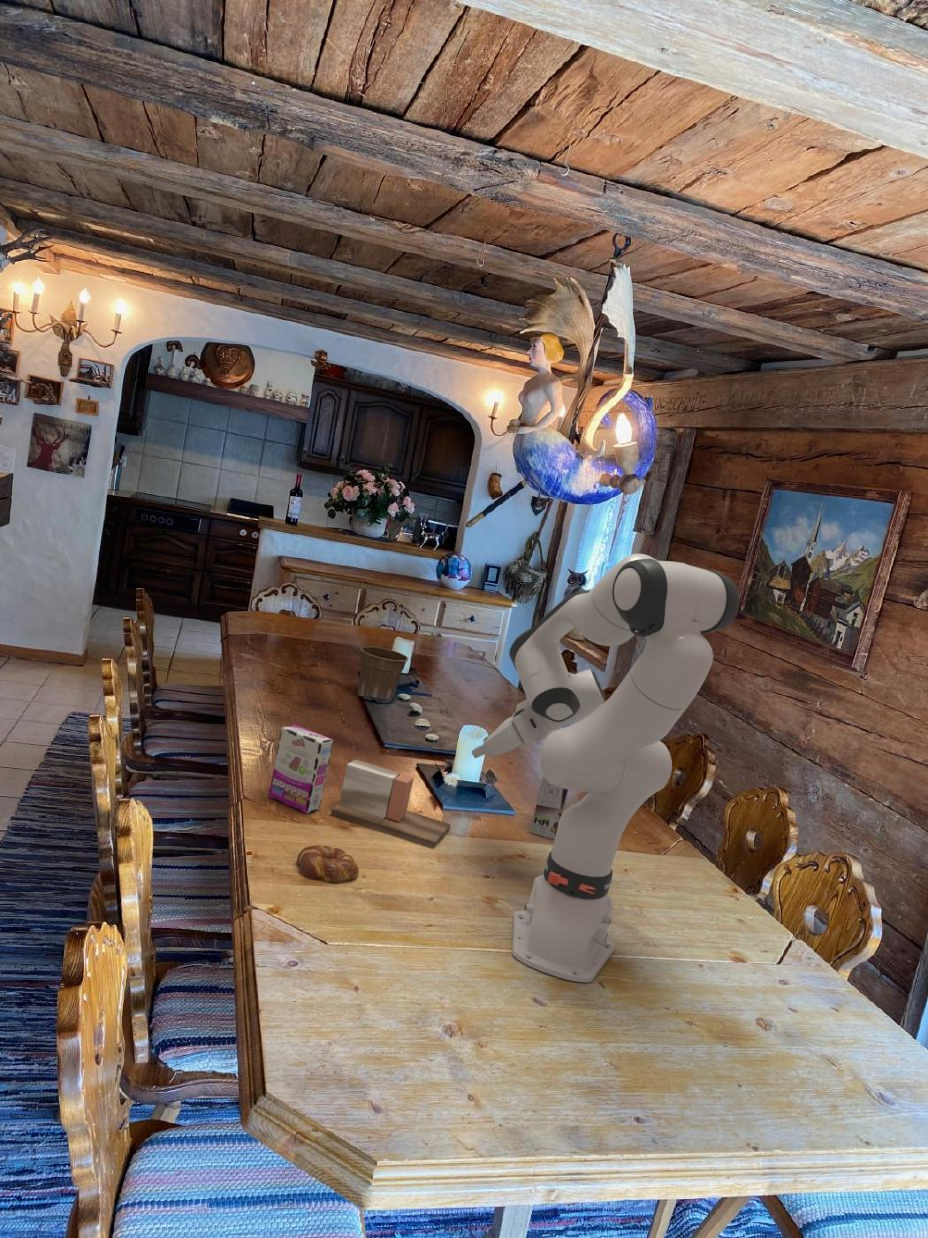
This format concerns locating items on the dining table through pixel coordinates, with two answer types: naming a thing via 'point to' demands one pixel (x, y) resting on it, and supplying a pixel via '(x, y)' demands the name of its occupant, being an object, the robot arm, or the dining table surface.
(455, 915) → the dining table surface
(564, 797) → the coffee box
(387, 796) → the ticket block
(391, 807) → the stub
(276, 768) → the candy bar box
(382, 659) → the plant pot
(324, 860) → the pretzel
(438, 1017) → the dining table surface
